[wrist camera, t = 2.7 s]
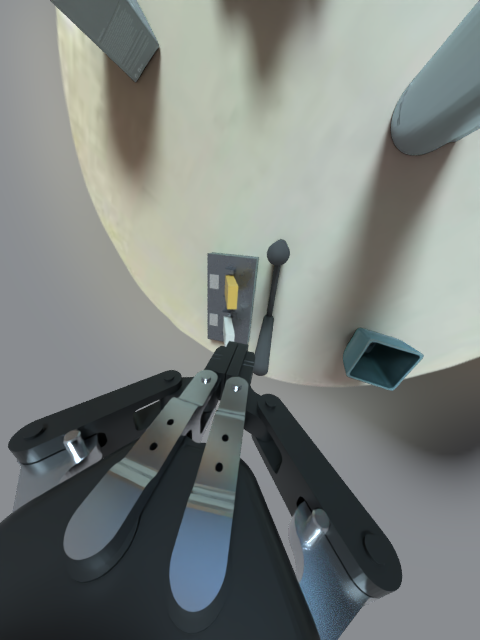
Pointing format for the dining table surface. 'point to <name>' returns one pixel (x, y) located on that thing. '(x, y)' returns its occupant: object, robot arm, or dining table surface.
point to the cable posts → (270, 308)
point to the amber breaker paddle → (231, 292)
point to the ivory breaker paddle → (228, 330)
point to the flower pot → (379, 359)
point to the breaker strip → (217, 308)
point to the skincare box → (115, 30)
